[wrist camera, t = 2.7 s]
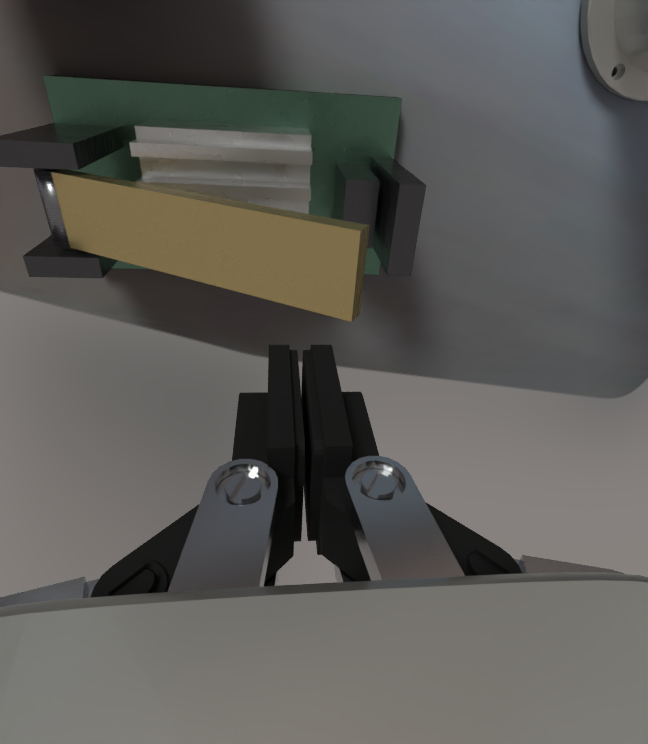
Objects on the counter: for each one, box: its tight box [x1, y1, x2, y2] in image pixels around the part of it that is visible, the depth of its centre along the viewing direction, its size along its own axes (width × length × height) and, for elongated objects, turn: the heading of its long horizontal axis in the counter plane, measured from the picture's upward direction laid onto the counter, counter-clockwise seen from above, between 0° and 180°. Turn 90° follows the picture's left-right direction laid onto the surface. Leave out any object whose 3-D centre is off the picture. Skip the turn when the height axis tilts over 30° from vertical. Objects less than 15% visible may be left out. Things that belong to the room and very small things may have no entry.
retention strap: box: [34, 168, 370, 322], centre depth 22 cm, size 19×4×2 cm
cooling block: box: [0, 75, 426, 278], centre depth 28 cm, size 22×12×10 cm, turn 87°
